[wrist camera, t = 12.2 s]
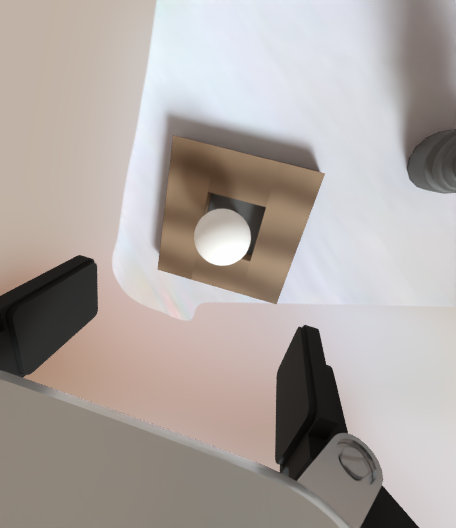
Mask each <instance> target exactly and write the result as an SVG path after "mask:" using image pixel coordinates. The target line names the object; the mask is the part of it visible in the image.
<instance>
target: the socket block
mask: <svg viewBox="0 0 456 528" xmlns="http://www.w3.org/2000/svg"><path fill="white" fill-rule="evenodd" d="M324 175H325V173H321V172H317V171H313V170H309V169H305V168H301V167H297V166H293V165H289V164H286V163H282V162H278V161H274V160H270V159H266V158H262V157H258V156H254V155H250V154H246V153H242V152H238V151H234V150H230V149H226V148H222V147H218V146H214V145H210V144H206V143H202V142H198V141H194V140H190V139H186V138H182V137H178V136H174V135H173V143H172V151H171V160H170V168H169V177H168V185H167V194H166V202H165V211H164V220H163V228H162V237H161V245H160V254H159V262H158V270H161V271H164V272H168V273H171V274H175V275H178V276H182V277H185V278H188V279H192V280H195V281H199V282H202V283H205V284H209V285H212V286H216V287H219V288H223V289H226V290H229V291H233V292H236V293H240V294H243V295H247V296H250V297H253V298H257V299H260V300H264V301H267V302H271V303H274V304H277V301H278V298H279V296H280V293H281V290H282V287H283V285H284V282H285V279H286V277H287V274H288V271H289V269H290V266H291V263H292V261H293V258H294V255H295V253H296V250H297V247H298V245H299V242H300V239H301V237H302V234H303V231H304V228H305V226H306V223H307V220H308V218H309V215H310V212H311V210H312V207H313V204H314V202H315V199H316V196H317V194H318V191H319V188H320V186H321V183H322V180H323V178H324ZM265 207H266V208H265ZM216 209H229V210H232V211H235V212H236V213H238V214H239V215H241V216H242V217H243V218H244V220H245V221H246V222H247V224H248V226H249V229H250V233H251V241H250V245H249V248H248V251H247V252H246V254H245V255H244V256H243V257H242V258H241V259H240V260H239V261H237V262H235V263H233V264H230V265H223V266H220V265H214V264H212V263H210V262H208V261H206V260H205V259H204V258H203V257H202V256H201V255H200V254H199V252H198V251H197V249H196V246H195V241H194V232H195V228H196V226H197V224H198V222H199V220H200V219H201V218H202V217H203V216H204V215H205V214H207V213H208V212H210V211H212V210H216ZM264 210H265V212H264ZM263 214H264V215H263ZM262 217H263V218H262ZM261 221H262V222H261ZM260 224H261V225H260ZM259 228H260V229H259ZM258 231H259V232H258ZM257 234H258V236H257ZM256 238H257V239H256ZM255 241H256V242H255ZM254 245H255V246H254ZM253 248H254V249H253ZM252 252H253V253H252Z"/></svg>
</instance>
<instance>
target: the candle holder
mask: <svg viewBox="0 0 456 528" xmlns="http://www.w3.org/2000/svg"><path fill="white" fill-rule="evenodd" d="M407 171H408V174H409V178H410V180H411V181H412V182H413V183H414V184H415V186H416V187H419V188H422V189H425V190H429V191H434V192H439V193H456V129H455V130H449V131H443V132H438V133H436V134H434V135H432V136H430V137H427V138H426V139H425V140H423V141H422V142H421V143H420V144H419V145H418V146H417V147H416V148H415V150H414V151H413V153H412V155H411V156H410V158H409V163H408V168H407Z"/></svg>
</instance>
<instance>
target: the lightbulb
mask: <svg viewBox="0 0 456 528" xmlns="http://www.w3.org/2000/svg"><path fill="white" fill-rule="evenodd" d="M194 241H195V246H196V249H197V251H198V252H199V254H200V255H201V256H202V257H203V258H204V259H205V260H206V261H208V262H210V263H212V264H214V265H220V266H223V265H230V264H233V263H235V262H237V261H239V260H240V259H241V258H242V257H243V256H244V255H245V254H246V252H247V251H248V248H249V245H250V241H251V233H250V229H249V226H248V224H247V222H246V221H245V220H244V218H243V217H242V216H241V215H239V214H238V213H236V212H235V211H232V210H229V209H216V210H212V211H210V212H208V213H207V214H205V215H204V216H203V217H202V218H201V219H200V220H199V222H198V224H197V226H196V228H195V232H194Z"/></svg>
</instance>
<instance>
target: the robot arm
mask: <svg viewBox="0 0 456 528" xmlns="http://www.w3.org/2000/svg"><path fill="white" fill-rule="evenodd" d="M97 311H98V297H97V265H96V264H95V263H94V260H93V259H91V258H87V257H84V256H81V255H79V256H76V257H74V258H73V259H70V260H68V261H66V262H65V263H63V264H61V265H59V266H57V267H55V268H53V269H51V270H49V271H47V272H45V273H43V274H41V275H40V276H38V277H36V278H34V279H32V280H30V281H28V282H26V283H24V284H22V285H20V286H18V287H16V288H15V289H13V290H11V291H9V292H7V293H5V294H3V295H2V296H0V528H419V527H418V526H417V525H416V524H415V522H414V521H413V520H412V519H411V518H410V517H409V516H408V515H407V513H406V512H405V511H404V510H403V509H402V508H401V507H400V506H399V504H398V503H397V502H396V501H395V500H394V499H393V497H392V496H391V495H390V494H389V493H388V492H387V490H386V489H385V488H384V487H383V486H382V482H383V476H382V470H381V467H380V465H379V462H378V460H377V458H376V457H375V455H374V453H373V452H372V451H371V450H370V449H369V448H368V446H367V445H366V444H365V443H363V442H362V441H361V440H360V439H359V438H357V437H355V436H353V435H351V434H348V431H347V427H346V424H345V419H344V415H343V410H342V406H341V402H340V398H339V394H338V390H337V385H336V381H335V377H334V373H333V370H332V368H331V366H328V365H326V361H325V357H324V352H323V347H322V343H321V338H320V333H319V330H318V329H316V328H313V327H310V326H307V325H304V326H303V327H298V329H297V331H296V333H295V335H294V337H293V339H292V342H291V343H290V345H289V348H288V350H287V352H286V354H285V356H284V358H283V360H282V362H281V365H280V367H279V369H278V372H277V386H276V389H277V390H276V446H275V447H276V449H275V450H276V451H275V460H276V463H277V464H280V472H277V471H275V470H273V469H271V468H268V467H266V466H264V465H262V464H260V463H257V462H254V461H252V460H249V459H247V458H244V457H241V456H239V455H236V454H233V453H231V452H228V451H226V450H223V449H220V448H218V447H215V446H213V445H210V444H207V443H204V442H201V441H199V440H196V439H193V438H190V437H188V436H185V435H182V434H179V433H177V432H173V431H171V430H168V429H166V428H163V427H160V426H157V425H154V424H152V423H149V422H146V421H144V420H141V419H138V418H135V417H132V416H130V415H126V414H124V413H121V412H118V411H116V410H113V409H110V408H107V407H104V406H101V405H99V404H96V403H93V402H90V401H87V400H84V399H82V398H79V397H76V396H73V395H71V394H67V393H65V392H62V391H59V390H56V389H53V388H50V387H48V386H45V385H42V384H39V383H36V382H33V381H30V380H27V379H25V378H23V377H24V376H25V375H29V374H31V373H32V372H34V371H35V370H36V369H37V368H38V367H39V366H40V365H41V364H43V363H44V362H45V361H46V360H47V359H48V358H49V357H50V356H52V354H54V353H55V352H56V351H57V350H58V349H59V348H60V347H62V346H63V345H64V344H65V343H66V342H67V341H68V340H69V339H71V337H72V336H74V335H75V334H76V333H77V332H78V331H79V330H80V329H82V328H83V327H84V326H85V325H86V324H87V323H88V322H89V321H91V320H92V319H93V318H94V317H95V316H96V314H97Z"/></svg>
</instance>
